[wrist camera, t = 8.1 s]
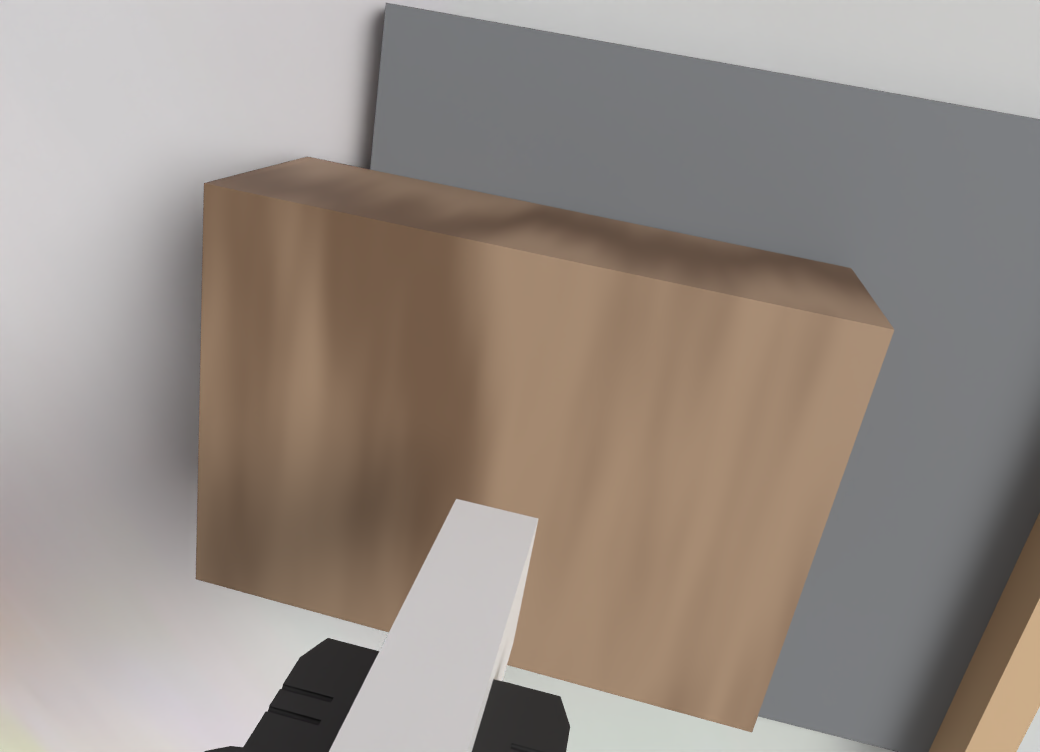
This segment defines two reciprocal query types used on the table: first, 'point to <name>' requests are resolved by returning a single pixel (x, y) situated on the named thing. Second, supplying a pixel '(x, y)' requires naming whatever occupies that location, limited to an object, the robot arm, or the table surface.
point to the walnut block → (526, 418)
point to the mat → (830, 239)
